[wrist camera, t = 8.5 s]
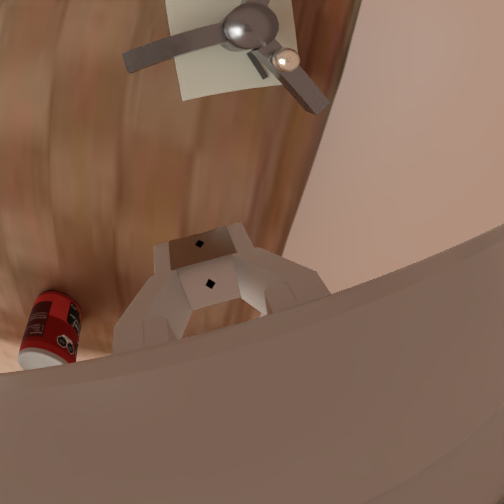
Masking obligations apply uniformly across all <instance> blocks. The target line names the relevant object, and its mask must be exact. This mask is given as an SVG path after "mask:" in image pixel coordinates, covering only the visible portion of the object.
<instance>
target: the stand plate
mask: <svg viewBox="0 0 504 504" xmlns="http://www.w3.org/2000/svg"><path fill="white" fill-rule="evenodd" d="M241 1H242V0H165V3H166V10H167V16H168V23H169V29H170V35H171V36H173V35H176V34H179V33H183V32H186V31H189V30H193V29H197V28H200V27H204V26H208V25H212V24H217V23H219V22H220V21H221V20H222V19H223V18H224V17H225V16H227V15H228V14H229V13H230V12H231V11H232V10H233V9H235V8H236V7H237V6H239V5H240V4H241ZM268 7H269V8H270V9H271V10H272V11H273V12H274V13H275V15H276V16H277V19H278V22H279V30H278V33H277V36H276V37H275V39H276V40H277V41H278V42H279V43H280V44H281V46H282V47H283V48H284V47H287V48H291V49H294V50H295V51H296V52H297V53H298V50H297V41H296V33H295V24H294V17H293V9H292V2H291V0H270V2H269V4H268ZM251 50H252V49H249V50H245V51H240V52H233V51H229V50H227V49H225V48H223V47H222V46H221V45H216V46H212V47H209V48H205V49H201V50H198V51H194V52H191V53H188V54H184V55H181V56H178V57H175V64H176V70H177V75H178V80H179V86H180V91H181V96H182V101H185V100H189V99H194V98H198V97H203V96H208V95H213V94H219V93H225V92H230V91H237V90H243V89H250V88H258V87H266V86H274V85H282V84H281V82H280V81H279V80H278V79H277V78H276V77H275V76H274V75H273V74H272V73H271V72H270V71H269V70H268V69H267V68H266V67H265V66H264V65H263V64H262V63H261V62H260V61H259V60H258V59H257V58H256V57H255V56H254V55H253V54H252V53H251V52H250V51H251Z"/></svg>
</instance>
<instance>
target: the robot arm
mask: <svg viewBox="0 0 504 504" xmlns="http://www.w3.org/2000/svg"><path fill="white" fill-rule="evenodd" d="M240 297H241V298H242V299H243V300H244V301H246V302H247V303H249V304H250V305H251V306H253V307H254V308H256V309H257V310H258V311H260V312H261V313H263V314H264V315H266V316H263V317H259V318H256V319H252V320H249V321H246V322H242V323H239V324H235V325H232V326H228V327H225V328H221V329H218V330H214V331H210V332H207V333H203V334H199V335H195V336H192V337H188V338H184V339H181V338H182V335H183V333H184V331H185V328H186V326H187V324H188V321H189V319H190V316H191V314H192V311H193V310H196V309H200V308H203V307H207V306H210V305H213V304H217V303H221V302H225V301H229V300H232V299H236V298H240ZM0 504H504V224H502V225H500V226H498V227H496V228H494V229H492V230H490V231H487V232H485V233H483V234H481V235H479V236H477V237H475V238H472V239H470V240H468V241H466V242H464V243H461V244H459V245H457V246H455V247H452V248H450V249H447V250H445V251H443V252H440V253H438V254H436V255H433V256H431V257H428V258H426V259H424V260H421V261H419V262H417V263H414V264H411V265H409V266H406V267H404V268H401V269H399V270H396V271H394V272H391V273H388V274H386V275H383V276H381V277H378V278H376V279H373V280H370V281H367V282H365V283H362V284H359V285H356V286H354V287H351V288H348V289H345V290H343V291H339V292H337V293H334V294H331V293H330V292H329V290H328V289H327V287H326V286H325V284H324V283H323V281H322V280H321V278H320V277H319V275H318V274H317V272H316V271H314V270H311V269H309V268H307V267H304V266H302V265H299V264H297V263H295V262H292V261H290V260H287V259H285V258H283V257H281V256H278V255H276V254H273V253H271V252H269V251H266V250H264V249H262V248H259V247H257V248H254V247H253V245H252V243H251V241H250V239H249V237H248V235H247V233H246V231H245V229H244V227H243V225H242V223H241V222H237V223H234V224H231V225H227V226H224V227H221V228H217V229H214V230H211V231H207V232H204V233H200V234H195V235H191V236H187V237H183V238H179V239H175V240H171V241H169V242H168V241H167V242H163V243H160V244H157V245H155V246H154V276H150V278H149V279H148V280H147V282H146V283H145V284H144V286H143V287H142V288H141V290H140V291H139V292H138V294H137V295H136V297H135V298H134V299H133V301H132V302H131V303H130V305H129V306H128V308H127V309H126V310H125V312H124V313H123V315H122V316H121V317H120V319H119V320H118V322H117V323H116V324H115V326H114V332H113V355H110V356H105V357H100V358H95V359H90V360H84V361H79V362H74V363H68V364H62V365H56V366H50V367H44V368H37V369H31V370H24V371H16V372H8V373H0Z"/></svg>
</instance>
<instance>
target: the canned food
mask: <svg viewBox="0 0 504 504" xmlns="http://www.w3.org/2000/svg"><path fill="white" fill-rule="evenodd" d="M81 323H82V315H81V310H80V308H79V306H78V305H77V303H76V302H75V301H74V300H73V299H71V298H70V297H68V296H67V295H65V294H63V293H59V292H55V291H48V292H44V293H42V294H41V295H39V297H38V298H37V299H36V300H35V303H34V306H33V308H32V311H31V314H30V317H29V320H28V323H27V326H26V330H25V333H24V336H23V340H22V343H21V347H20V351H19V356H18V363H19V365H20V367H21V368H22V369H23V370H31V369H37V368H44V367H50V366H56V365H62V364H68V363H74V362H76V356H77V349H78V342H79V335H80V329H81Z"/></svg>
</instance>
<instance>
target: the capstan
mask: <svg viewBox="0 0 504 504" xmlns="http://www.w3.org/2000/svg"><path fill="white" fill-rule="evenodd" d="M269 2H270V0H242V1H241V4H240V5H239V6H237V7H236V8H235V9H233V10H232V11H231V12H230V13H229V14H228V15H227V16H225V17H224V18H223V19H222V20H221V21H220V22H219V23H217V24H212V25H208V26H204V27H200V28H197V29H193V30H189V31H186V32H183V33H179V34H176V35H173V36H170V37H166V38H163V39H161V40H158V41H155V42H152V43H149V44H146V45H144V46H141V47H138V48H136V49H133V50H131V51H128V52H126V53H124V54H122V55H123V59H124V62H125V65H126V68H127V71H128V74H129V73H134V72H136V71H139V70H141V69H144V68H147V67H149V66H152V65H155V64H157V63H160V62H163V61H166V60H169V59H172V58H175V57H178V56H181V55H184V54H188V53H191V52H194V51H198V50H201V49H205V48H209V47H212V46H216V45H221V46H222V47H223V48H225V49H227V50H229V51H233V52H240V51H245V50H249V49H252V50H251V51H250V52H251V53H252V54H253V55H254V56H255V57H256V58H257V59H258V60H259V61H260V62H261V63H262V64H263V65H264V66H265V67H266V68H267V69H268V70H269V71H270V72H271V73H272V74H273V75H274V76H275V77H276V78H277V79H278V80H279V81H280V82H281V84H282V85H283V86H284V87H285V88H286V89H287V90H288V91H289V92H290V93H291V95H292V96H293V97H294V98H295V99H296V100H297V101H298V103H299V104H300V105H301V106H302V107H303V108H304V109H305V111H307V112H310V113H313V114H315V115H317V114H318V113H320V112H321V111H322V110H323V109H324V108H325V107H326V106H327V105H328V104H329V103H330V102H329V101H328V100H327V98H326V97H325V96H324V94H323V93H322V92H321V91H320V89H319V88H318V87H317V86H316V84H315V83H314V82H313V81H312V80H311V78H310V77H309V76H308V75H307V74H306V72H305V71H304V70H303V69H302V68H301V67H300V65H299V64H300V56H299V54H298V53H297V52H296V51H295V50H294V49H291V48H287V47H284V48H283V47H282V46H281V44H280V43H279V42H278V41H277V40H276V39H275V37H276V36H277V33H278V30H279V22H278V19H277V16H276V15H275V13H274V12H273V11H272V10H271V9H270V8H269V7H268V4H269Z"/></svg>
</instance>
